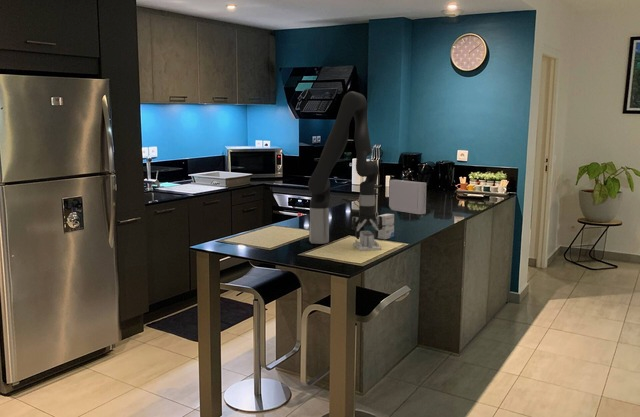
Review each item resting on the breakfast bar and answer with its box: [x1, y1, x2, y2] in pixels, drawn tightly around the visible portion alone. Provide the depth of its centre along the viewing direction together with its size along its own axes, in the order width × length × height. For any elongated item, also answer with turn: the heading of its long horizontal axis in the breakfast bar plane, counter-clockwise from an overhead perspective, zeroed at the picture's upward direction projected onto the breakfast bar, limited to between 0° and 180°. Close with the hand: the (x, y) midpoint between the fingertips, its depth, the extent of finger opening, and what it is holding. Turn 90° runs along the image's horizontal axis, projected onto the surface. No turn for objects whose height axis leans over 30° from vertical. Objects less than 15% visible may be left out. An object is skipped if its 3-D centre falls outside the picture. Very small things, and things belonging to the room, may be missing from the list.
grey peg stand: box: [352, 237, 382, 252], centre depth 267 cm, size 10×14×6 cm
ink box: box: [377, 213, 395, 240], centre depth 289 cm, size 8×5×12 cm, turn 141°
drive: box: [359, 230, 375, 247], centre depth 267 cm, size 4×9×6 cm, turn 9°
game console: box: [388, 179, 427, 215], centre depth 371 cm, size 6×27×20 cm, turn 39°
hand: (366, 238), depth 267 cm, fingers open, 8 cm apart
